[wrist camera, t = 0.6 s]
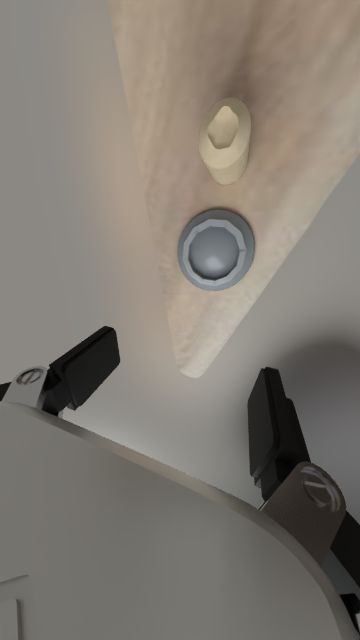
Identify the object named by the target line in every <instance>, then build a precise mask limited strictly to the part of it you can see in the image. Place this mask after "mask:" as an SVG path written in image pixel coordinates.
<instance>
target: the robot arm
mask: <svg viewBox="0 0 360 640" xmlns="http://www.w3.org/2000/svg"><path fill="white" fill-rule="evenodd" d="M119 363H120V356H119V349H118V343H117V336H116V331H115V330H114V328H111V327H108V326H104V327H102V328H101V329H99V330H98V331H97V332H95V333H94V334H92V335H91V336H89V337H88V338H87V339H85V340H84V341H82V342H81V343H80V344H78V345H77V346H75V347H74V348H72V349H71V350H70V351H68V352H67V353H65V354H64V355H62V356H61V357H60V358H58V359H57V360H55V361H54V362H53V363H51V364H50V365H49V366H50V369H48V370H47V369H46V368H45V367H43V366H36V367H32V368H29V369H26V370H24V371H22V372H21V373H19V374H18V375H17V376H16V377H15V378H14V379H13V381H12V382H9V383H5V384H1V385H0V640H360V525H359V524H358V523H357V521H356V520H355V519H354V518H353V517H352V516H351V515H350V514H349V513H348V512H347V510H346V502H345V499H344V496H343V494H342V492H341V490H340V488H339V486H338V485H337V483H336V482H335V481H334V480H333V479H332V478H331V476H330V475H329V474H328V473H327V472H326V471H324V470H323V469H322V468H321V467H319V466H317V465H315V464H314V463H311V461H310V458H309V454H308V451H307V447H306V444H305V441H304V437H303V434H302V430H301V427H300V424H299V420H298V417H297V414H296V410H295V407H294V404H293V401H292V400H291V399H289V398H286V396H285V392H284V389H283V385H282V381H281V377H280V374H279V370H277V369H273V368H270V367H266V368H265V369H261V371H260V373H259V375H258V378H257V380H256V383H255V385H254V387H253V390H252V392H251V395H250V397H249V400H248V429H249V456H250V474H251V476H252V477H254V480H255V481H254V482H255V486H257V487H259V488H261V489H262V497H263V499H264V502H263V503H262V504H261V506H260V507H259V508H258V509H257V508H255V507H253V506H252V505H250V504H248V503H246V502H245V501H243V500H241V499H239V498H237V497H235V496H233V495H231V494H229V493H227V492H225V491H223V490H221V489H218V488H216V487H214V486H212V485H210V484H208V483H206V482H203V481H201V480H199V479H197V478H195V477H193V476H191V475H188V474H186V473H184V472H182V471H179V470H177V469H175V468H173V467H170V466H168V465H166V464H164V463H161V462H159V461H157V460H155V459H152V458H150V457H148V456H146V455H144V454H141V453H139V452H137V451H134V450H132V449H130V448H128V447H125V446H123V445H121V444H119V443H116V442H114V441H112V440H110V439H107V438H105V437H102V436H100V435H98V434H96V433H94V432H91V431H89V430H87V429H84V428H82V427H80V426H77V425H75V424H73V423H71V422H68V421H66V420H63V419H62V415H63V409H64V408H65V407H66V406H67V407H68V408H70V409H72V410H74V411H75V410H76V409H77V408H78V407H79V406H81V405H82V404H83V403H84V402H85V401H86V400H87V399H88V398H89V397H90V396H91V395H92V393H93V392H94V391H95V390H96V389H97V388H98V387H99V386H100V384H102V383H103V381H104V380H105V379H106V378H107V377H108V376H109V375H110V374H111V373H112V371H113V370H114V369H115V368H116V367H117V366H118V365H119Z"/></svg>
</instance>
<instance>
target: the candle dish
mask: <svg viewBox="0 0 360 640" xmlns="http://www.w3.org/2000/svg"><path fill="white" fill-rule="evenodd" d="M254 249H255V247H254V239H253V235H252V232H251V230H250V228H249V226H248V225H247V224H246V222H245V221H244V220H243V219H242V218H241V217H239V216H238V215H237V214H235V213H233V212H230V211H227V210H211V211H207V212H204V213H202V214H200V215H198V216H197V217H195V218H194V219H193V220H192V221H191V222H190V223H189V224H188V225H187V226H186V228H185V229H184V231H183V233H182V235H181V238H180V240H179V245H178V261H179V265H180V268H181V270H182V272H183V274H184V275H185V277H186V278H187V279H188V280H189V281H190V282H191V283H192V284H193V285H195V286H196V287H198V288H201V289H203V290H208V291H219V290H224V289H227V288H229V287H231V286H233V285H235V284H236V283H238V282H239V281H240V280H241V279H242V278H243V277H244V276H245V274H246V273H247V271H248V270H249V268H250V266H251V264H252V261H253V257H254Z"/></svg>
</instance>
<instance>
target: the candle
mask: <svg viewBox="0 0 360 640" xmlns="http://www.w3.org/2000/svg"><path fill="white" fill-rule="evenodd" d="M250 134H251V117H250V113H249V110H248V108H247V106H246V105H245V104H244V103H243V102H242V101H241V100H240V99H238V98H234V97H228V98H224V99H221V100H220V101H218V102H217V103H215V104H214V105H213V106H212V107H211V108H210V110H209V111H208V112H207V114H206V116H205V118H204V120H203V122H202V125H201V128H200V132H199V150H200V154H201V156H202V158H203V160H204V162H205V164H206V166H207V168H208V170H209V172H210V173H211V175H212V177H213V179H214V180H215V181H216V182H217V183H219V184H221V185H229V184H232V183H234V182H235V181H237V180H238V179H239V178H240V177H241V175H242V174H243V172H244V170H245V168H246V165H247V162H248V155H249V144H250Z"/></svg>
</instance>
